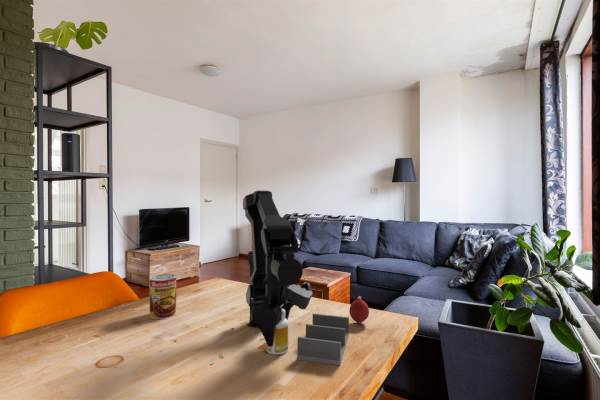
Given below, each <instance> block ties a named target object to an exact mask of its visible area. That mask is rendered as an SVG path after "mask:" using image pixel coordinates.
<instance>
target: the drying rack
mask: <svg viewBox="0 0 600 400" xmlns="http://www.w3.org/2000/svg"><path fill="white" fill-rule="evenodd" d="M349 331H350V318H349V316H340V315H331V314H330V315H329V314H322V313H312V324H310V323H306V324H305V337H304V336H297V345H296V346H297V347H296V348H297V352H296V353H297V356H296V358H297V360H300V361H308V362H314V363H321V364H328V365H335V366H341V364H342V361H343V358H344V355H345V354H344V353H345V351H346V346H347V345H348V339H349V337H350V336H349V335H350V332H349Z"/></svg>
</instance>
